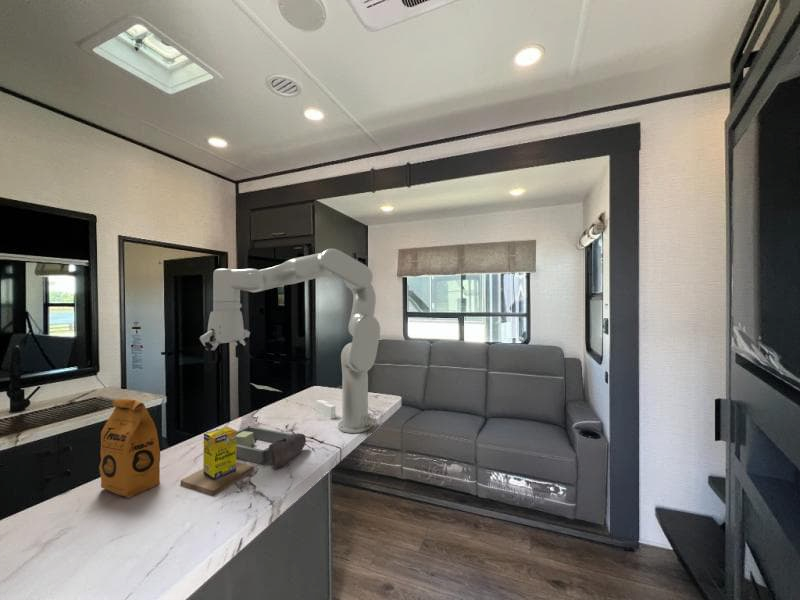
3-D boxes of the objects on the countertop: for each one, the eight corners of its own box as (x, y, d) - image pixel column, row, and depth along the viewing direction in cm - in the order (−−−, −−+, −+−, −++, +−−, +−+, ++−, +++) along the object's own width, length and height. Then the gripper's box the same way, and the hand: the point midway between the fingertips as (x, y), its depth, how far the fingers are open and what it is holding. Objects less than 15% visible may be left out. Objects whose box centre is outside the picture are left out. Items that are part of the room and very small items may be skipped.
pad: (253, 470, 86) (253, 466, 86) (213, 495, 75) (213, 490, 75) (222, 462, 90) (222, 458, 90) (180, 485, 79) (180, 480, 79)
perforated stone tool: (299, 447, 100) (299, 425, 100) (312, 450, 98) (312, 428, 98) (261, 470, 86) (261, 445, 86) (276, 474, 84) (276, 448, 84)
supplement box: (213, 481, 79) (213, 438, 79) (202, 473, 82) (202, 432, 82) (237, 470, 84) (237, 430, 84) (225, 464, 87) (225, 425, 87)
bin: (294, 445, 101) (294, 434, 101) (263, 464, 89) (263, 452, 89) (248, 435, 109) (248, 425, 109) (214, 452, 97) (214, 441, 97)
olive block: (253, 444, 102) (253, 432, 102) (244, 449, 98) (244, 437, 98) (242, 443, 103) (242, 431, 103) (234, 448, 99) (234, 436, 99)
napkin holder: (311, 411, 134) (311, 398, 134) (338, 409, 137) (338, 396, 137) (309, 424, 119) (309, 410, 119) (339, 422, 122) (339, 407, 122)
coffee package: (119, 505, 71) (119, 409, 72) (94, 491, 77) (94, 402, 77) (167, 482, 80) (167, 397, 81) (141, 471, 86) (141, 392, 86)
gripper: (241, 306, 109) (241, 355, 109) (192, 307, 93) (192, 364, 93) (257, 306, 106) (257, 356, 106) (209, 307, 90) (209, 366, 90)
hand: (226, 360), depth 100 cm, fingers open, 9 cm apart
